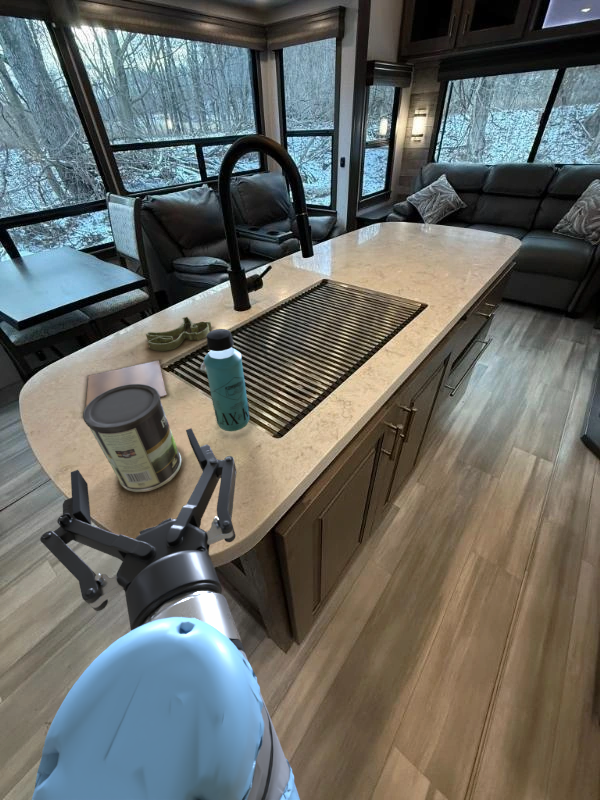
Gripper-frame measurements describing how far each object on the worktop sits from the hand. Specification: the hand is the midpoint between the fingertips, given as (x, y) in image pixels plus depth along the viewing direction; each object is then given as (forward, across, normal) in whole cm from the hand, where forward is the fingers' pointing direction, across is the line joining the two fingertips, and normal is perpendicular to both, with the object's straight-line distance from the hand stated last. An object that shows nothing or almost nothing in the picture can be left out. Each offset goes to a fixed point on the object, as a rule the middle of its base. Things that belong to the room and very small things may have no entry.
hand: (138, 455), depth 43 cm
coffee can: (+10, 0, -12) cm, 16 cm away
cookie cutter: (+55, +17, -12) cm, 59 cm away
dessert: (+35, +20, -12) cm, 42 cm away
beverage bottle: (+12, +16, -12) cm, 24 cm away
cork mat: (+38, 0, -12) cm, 40 cm away
